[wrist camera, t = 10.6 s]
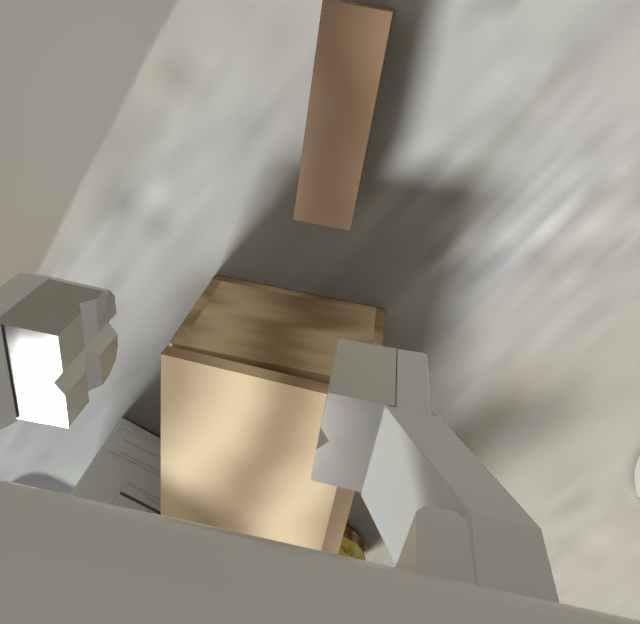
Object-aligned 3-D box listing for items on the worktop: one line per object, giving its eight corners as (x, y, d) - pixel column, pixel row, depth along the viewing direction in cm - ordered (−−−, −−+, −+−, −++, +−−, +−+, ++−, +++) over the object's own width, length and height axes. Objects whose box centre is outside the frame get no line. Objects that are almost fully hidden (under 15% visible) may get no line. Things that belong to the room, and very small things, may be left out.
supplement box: (121, 413, 43) (-22, 625, 29) (224, 468, 45) (137, 696, 30) (83, 480, 48) (-58, 692, 33) (176, 528, 49) (82, 750, 35)
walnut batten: (394, 9, 27) (392, 12, 23) (356, 202, 32) (350, 230, 28) (334, -2, 27) (322, -1, 23) (306, 192, 32) (293, 219, 28)
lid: (379, 396, 28) (377, 407, 27) (327, 590, 36) (324, 602, 35) (167, 345, 29) (159, 355, 28) (165, 545, 37) (159, 557, 36)
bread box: (385, 309, 35) (380, 385, 28) (341, 486, 44) (329, 578, 37) (215, 274, 36) (169, 342, 29) (204, 456, 44) (167, 542, 37)
